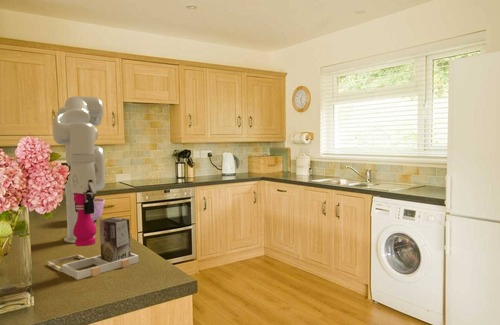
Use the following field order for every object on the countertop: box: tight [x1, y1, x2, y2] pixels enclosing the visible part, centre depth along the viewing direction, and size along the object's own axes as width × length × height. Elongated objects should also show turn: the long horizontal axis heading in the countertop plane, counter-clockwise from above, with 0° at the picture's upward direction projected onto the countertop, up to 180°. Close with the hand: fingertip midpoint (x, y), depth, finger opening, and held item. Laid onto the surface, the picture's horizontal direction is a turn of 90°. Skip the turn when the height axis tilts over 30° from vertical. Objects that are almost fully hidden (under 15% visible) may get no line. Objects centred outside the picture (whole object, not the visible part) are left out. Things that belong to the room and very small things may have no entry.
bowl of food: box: [91, 197, 106, 222], centre depth 209 cm, size 20×20×12 cm
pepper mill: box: [73, 191, 97, 247], centre depth 127 cm, size 7×7×20 cm
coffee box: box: [99, 216, 131, 262], centre depth 136 cm, size 9×6×16 cm
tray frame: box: [46, 254, 88, 273], centre depth 136 cm, size 11×11×1 cm
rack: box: [61, 252, 140, 280], centre depth 132 cm, size 13×22×2 cm, turn 139°
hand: (84, 212), depth 128 cm, fingers closed on pepper mill, 5 cm apart
